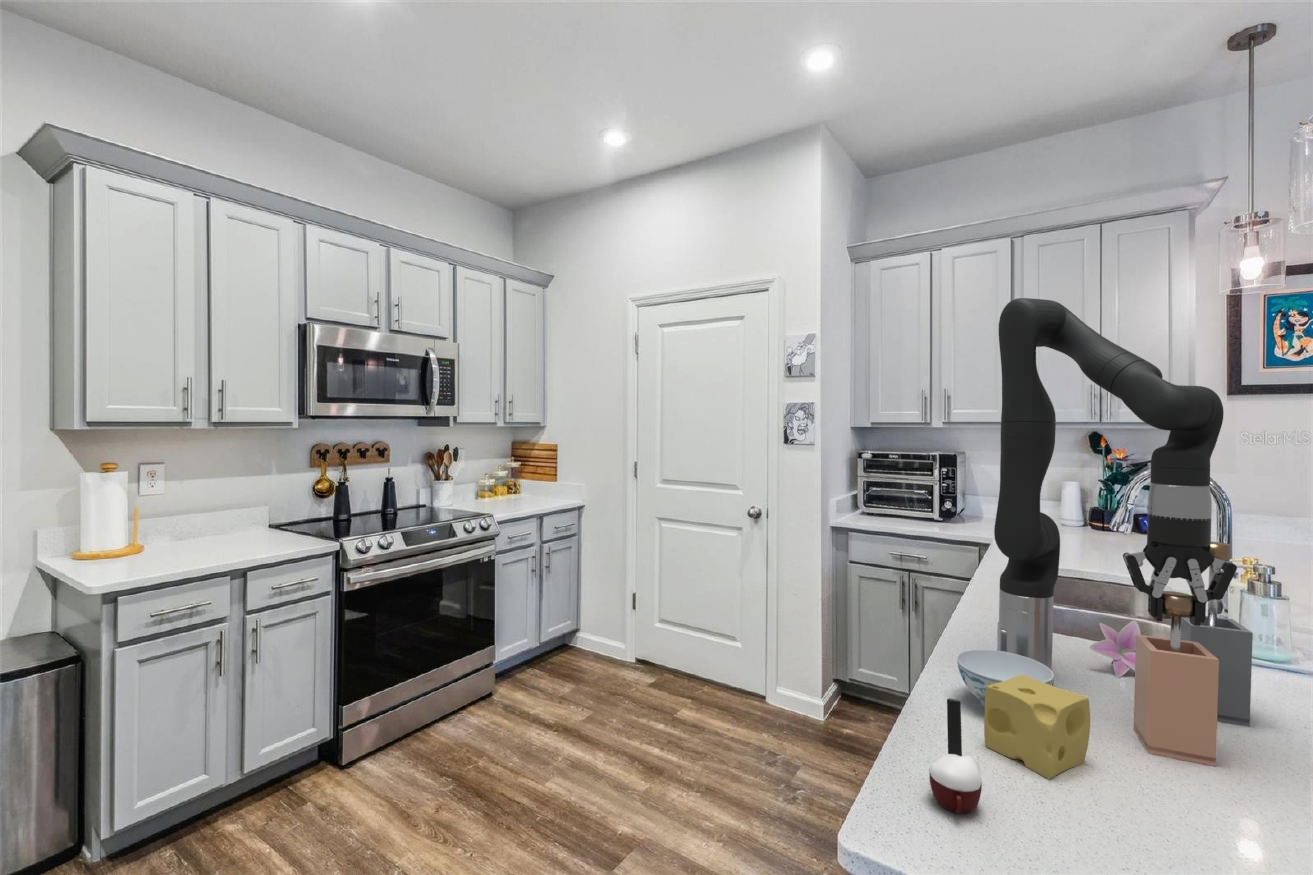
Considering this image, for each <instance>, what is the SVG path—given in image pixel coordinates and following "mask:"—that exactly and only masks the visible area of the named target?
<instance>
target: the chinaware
mask: <svg viewBox="0 0 1313 875" xmlns="http://www.w3.org/2000/svg"><path fill="white" fill-rule="evenodd" d="M956 663H957V668H958V671H959V673H960V676H961V679H962V681H963V683H964V685H965V686H966V688H967V689H968V690H969V691H970V693H971V694H973V695H974V696H975V697H976V698H977V699H978V700H979V701H981V702H980V703H981V706H982V705H983V706H982V707H983V708H984V709H985V691H986V686H988V685H991V684H995V683H999V682H1002V681H1005V680H1008V679H1010V678H1013V677H1016V676H1019V675H1025V676H1028V677H1030V678H1033V679H1035V680H1038V681H1040V682H1043V683H1046V684H1049V685H1051V686H1053V682H1054V678H1055V674H1054V672H1053V670H1052V671H1051V669H1049V668H1048V667H1047V666H1045V665H1044V664H1042V663H1040V662H1038V661H1035V660H1033V659H1030V658H1027V657H1024V656H1021V655H1017V654H1013V653H1008V652H1003V651H997V649H996V650H995V649H981V648H980V649H970V650H965V651H961V652H960V653H958V654H957V656H956Z"/></svg>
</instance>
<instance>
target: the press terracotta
mask: <svg viewBox="0 0 1313 875" xmlns="http://www.w3.org/2000/svg"><path fill="white" fill-rule="evenodd" d="M1218 674H1219V660H1218V659H1217V658H1216V657H1215V656H1214V655H1213V654H1211V653H1210V652H1209V651H1208V650H1207V649H1206V648H1204V647H1203V646H1202V645H1201V644H1200V643H1199V642H1192V641H1184V640H1180V653H1178V652H1171V651H1170V638H1167V637H1159V636H1151V635H1144V634H1141V635H1137V634H1136V655H1135V670H1134V694H1133V696H1134V697H1133V698H1134V699H1133V702H1134V703H1133V731H1134V733H1135V735H1136V736H1137V738H1138V739H1139V740H1140V742H1141V744H1142V746H1143V747H1144V749H1145V750H1146V752H1147V754H1151V755H1156V756H1161V757H1166V758H1171V759H1176V760H1182V761H1186V762H1190V763H1191V762H1192V763H1197V764H1201V765H1206V766H1213V767H1217V761H1216V760H1217V759H1216V758H1217V736H1218V735H1217V733H1218V732H1217V730H1218V721H1217V707H1218Z"/></svg>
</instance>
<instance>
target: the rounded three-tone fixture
mask: <svg viewBox="0 0 1313 875" xmlns="http://www.w3.org/2000/svg"><path fill="white" fill-rule="evenodd" d="M961 703H962V702H961V701H960V699H957V698H951V697H949V698H947V699H946V708H947V709H946V714H947V716H946V718H947V721H946V722H947V753H946V754H944V755H941V756H940V757H938V759H936V760H935V761H934V762H933V763H932V764H931V765H930V766H929V768H928V771H929V784H930V789H931V791H932V794H933V797H934V799H935V800H936V801H937V803H939V805H941V806H942V807H943V808H945V809H946V810H948V811H950V812H952V813H953V812H954V813H957V814H966V813H967V814H968V813H970V812H972V811H974V810H975V809H976V808H977V807H978V805H979V802H980V800H981V794H982V789H983V788H982V786H983V783H982V777H981V771H980V763H979V762H978V761H977V759H976V758H975V757H974V756H971V755H963V744H962V740H963V738H962V708H961V706H962V705H961Z"/></svg>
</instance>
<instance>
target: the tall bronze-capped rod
mask: <svg viewBox="0 0 1313 875" xmlns="http://www.w3.org/2000/svg"><path fill="white" fill-rule="evenodd" d="M1210 549H1211V552H1212V554H1213V555H1214V558H1217V559H1220V560H1223V561H1224V560H1226V561H1229V562H1231V560H1230V559H1231V544H1228V543H1226V542H1219V541H1211V547H1210ZM1215 573H1216V572H1215V571H1214V570H1213V564H1211V565H1210V566H1209V567H1208V586H1209V585H1210V583H1211V581H1212V579H1213V577H1214V575H1215ZM1207 616H1208V622H1207V626H1213V627H1217V617H1218V600H1216V599H1215V600H1209V601H1208V602H1207Z"/></svg>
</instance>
